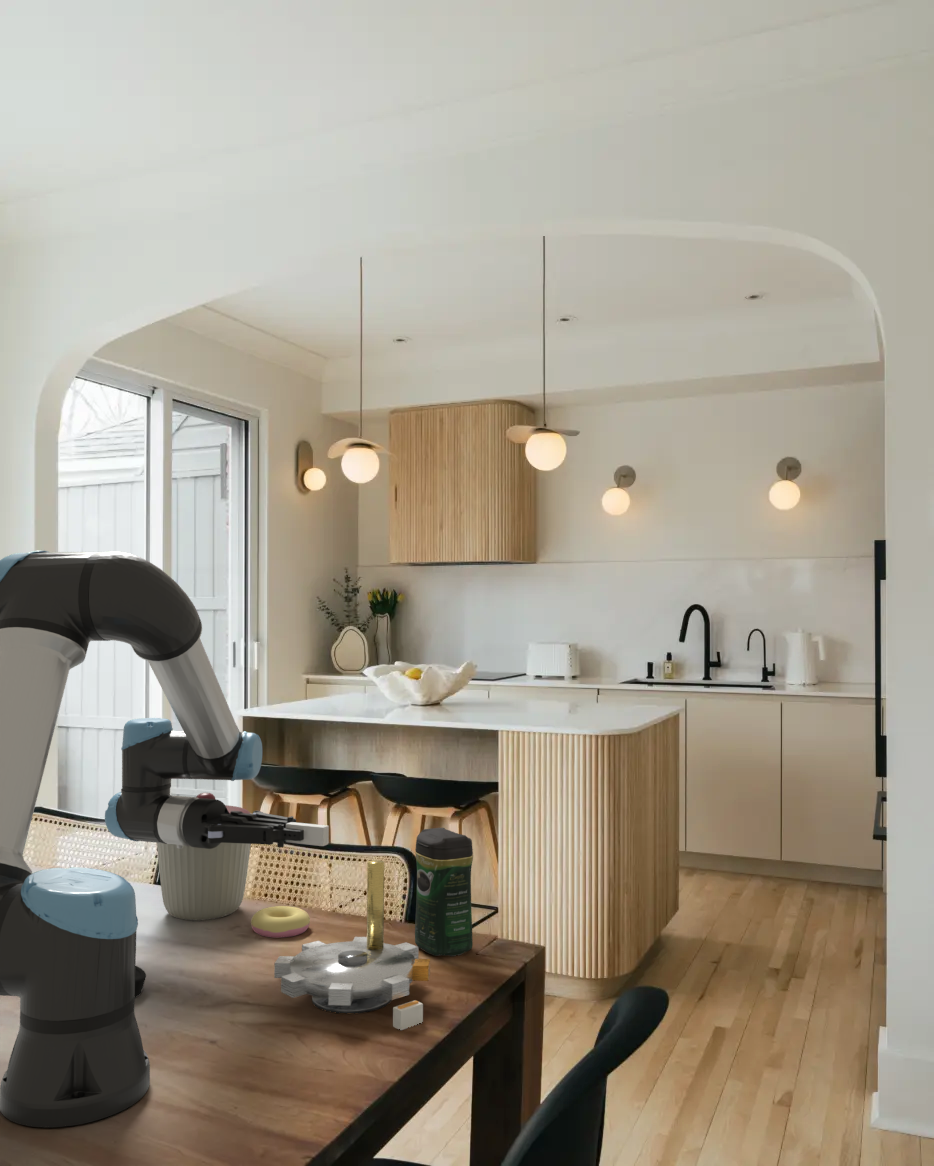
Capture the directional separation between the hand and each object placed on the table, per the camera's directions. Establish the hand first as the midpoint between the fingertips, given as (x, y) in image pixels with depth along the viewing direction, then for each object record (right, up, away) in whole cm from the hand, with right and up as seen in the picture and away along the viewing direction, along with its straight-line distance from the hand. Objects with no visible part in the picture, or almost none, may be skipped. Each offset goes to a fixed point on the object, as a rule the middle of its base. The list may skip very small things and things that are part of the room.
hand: (325, 835), depth 145 cm
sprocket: (+5, -17, -10) cm, 20 cm away
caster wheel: (-30, -20, -10) cm, 37 cm away
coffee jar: (+17, -21, +10) cm, 29 cm away
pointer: (+13, -19, -19) cm, 30 cm away
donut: (-10, -21, +20) cm, 31 cm away
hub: (+5, -20, -11) cm, 23 cm away
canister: (-26, -21, +29) cm, 45 cm away
